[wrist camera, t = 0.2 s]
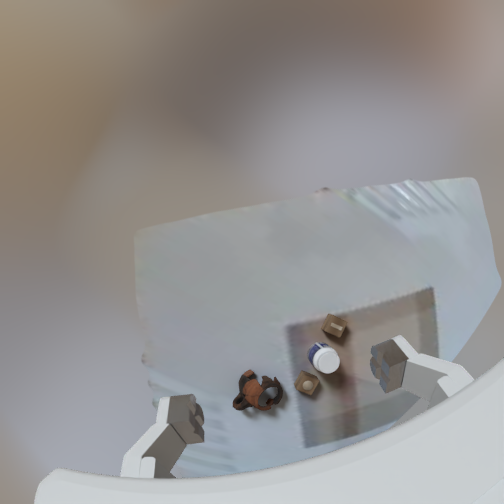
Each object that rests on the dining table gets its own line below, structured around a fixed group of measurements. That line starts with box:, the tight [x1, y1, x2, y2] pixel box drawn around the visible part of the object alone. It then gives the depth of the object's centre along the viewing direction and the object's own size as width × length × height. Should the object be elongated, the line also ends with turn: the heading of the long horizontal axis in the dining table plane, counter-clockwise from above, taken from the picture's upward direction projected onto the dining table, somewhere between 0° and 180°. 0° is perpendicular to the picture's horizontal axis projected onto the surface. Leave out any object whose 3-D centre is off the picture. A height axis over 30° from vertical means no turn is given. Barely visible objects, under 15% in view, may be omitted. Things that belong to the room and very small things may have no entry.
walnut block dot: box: [294, 371, 319, 395], centre depth 60 cm, size 4×4×4 cm
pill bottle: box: [307, 342, 340, 373], centre depth 58 cm, size 6×6×10 cm
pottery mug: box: [233, 370, 283, 410], centre depth 59 cm, size 12×10×8 cm
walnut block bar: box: [321, 314, 347, 338], centre depth 62 cm, size 4×4×4 cm
